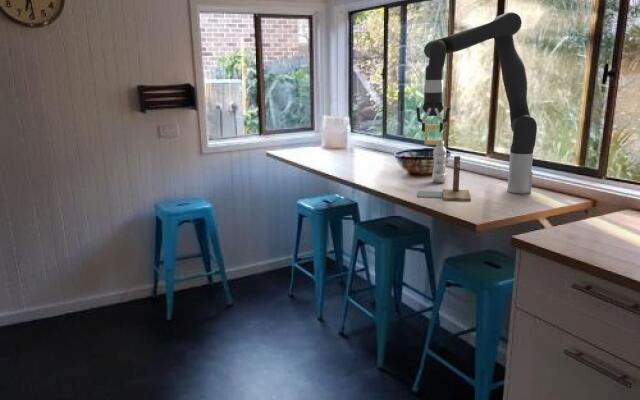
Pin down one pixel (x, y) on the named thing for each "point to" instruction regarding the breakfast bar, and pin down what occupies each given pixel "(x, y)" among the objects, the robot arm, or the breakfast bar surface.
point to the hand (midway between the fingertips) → (432, 131)
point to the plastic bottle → (439, 163)
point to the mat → (429, 194)
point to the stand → (456, 186)
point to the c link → (427, 126)
